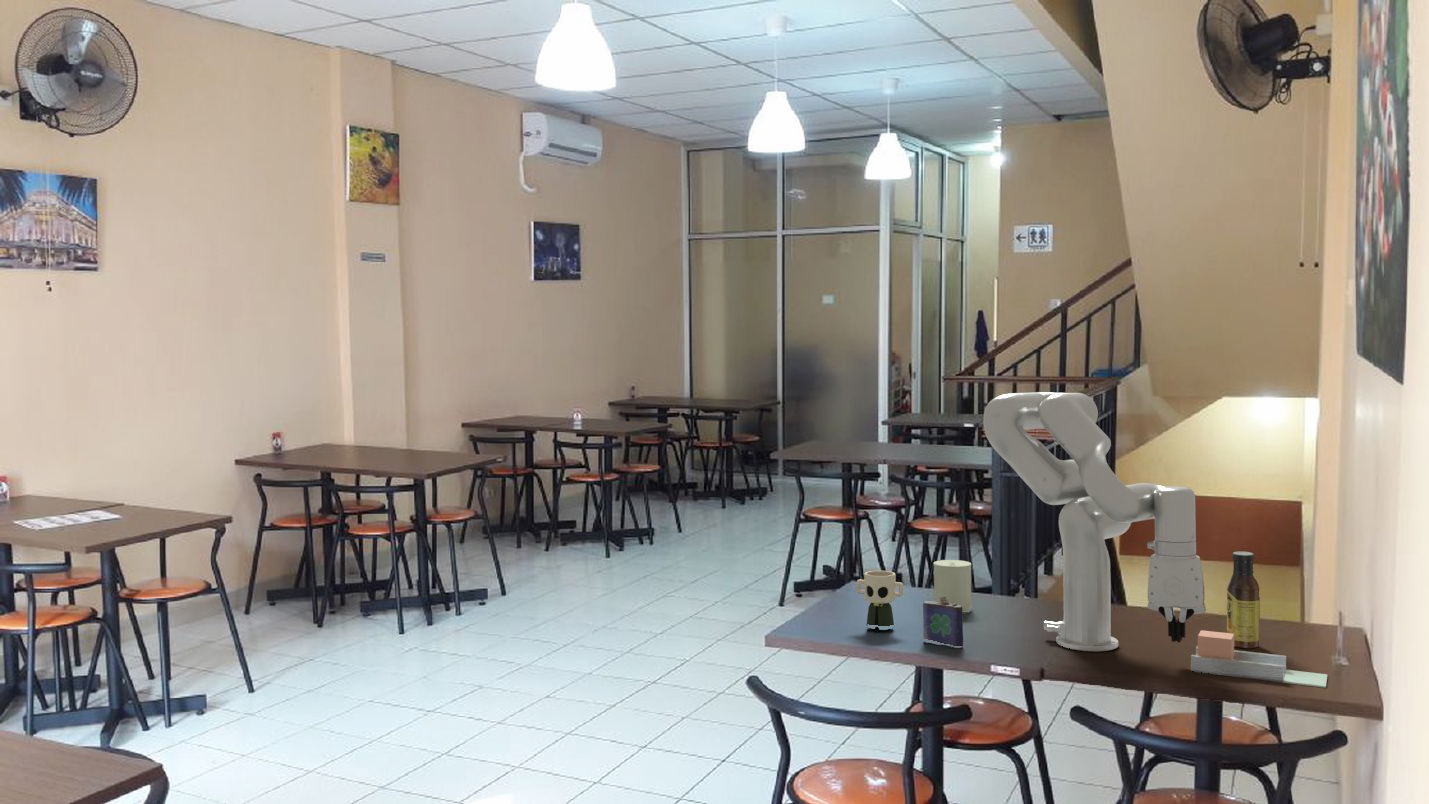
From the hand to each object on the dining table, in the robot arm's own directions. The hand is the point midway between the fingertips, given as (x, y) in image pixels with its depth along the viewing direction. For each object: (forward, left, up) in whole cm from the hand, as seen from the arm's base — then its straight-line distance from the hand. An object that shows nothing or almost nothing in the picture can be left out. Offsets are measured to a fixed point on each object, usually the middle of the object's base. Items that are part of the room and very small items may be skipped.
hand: (1177, 640), depth 218 cm
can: (-55, +26, -5) cm, 61 cm away
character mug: (-63, -1, -5) cm, 63 cm away
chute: (+11, 0, -5) cm, 12 cm away
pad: (+23, 0, -5) cm, 23 cm away
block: (+7, 0, -4) cm, 8 cm away
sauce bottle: (+10, +21, -5) cm, 24 cm away
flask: (-46, -7, -5) cm, 47 cm away
